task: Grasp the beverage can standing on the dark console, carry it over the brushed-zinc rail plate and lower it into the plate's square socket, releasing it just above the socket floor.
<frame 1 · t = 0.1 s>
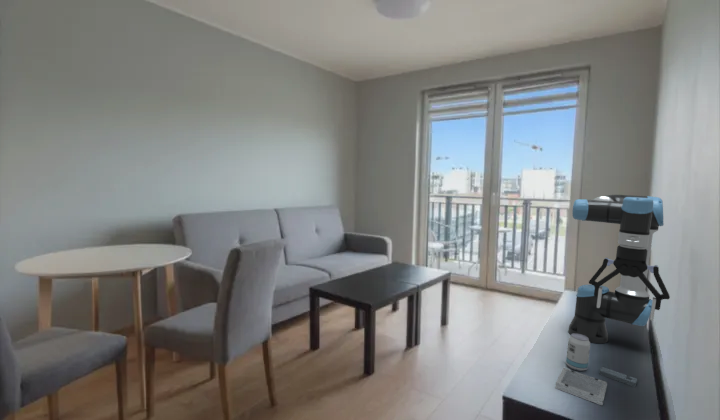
hand: (624, 312, 112), 28 cm above the table, fingers open, 13 cm apart
beverage can: (576, 368, 131), on the table
bracket: (617, 380, 125), on the table
rail plate: (581, 388, 118), on the table
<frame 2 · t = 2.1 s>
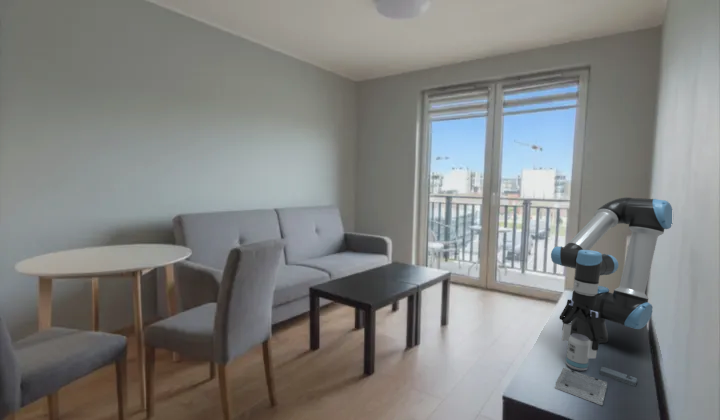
hand: (577, 348, 131), 7 cm above the table, fingers open, 13 cm apart
nothing on the table moved.
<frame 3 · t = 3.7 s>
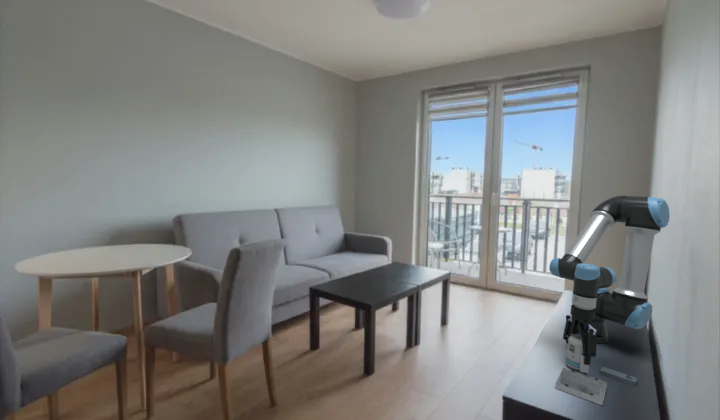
hand: (576, 366, 131), 1 cm above the table, fingers closed on beverage can, 7 cm apart
beverage can: (576, 368, 131), on the table, touching gripper
everything else where it was.
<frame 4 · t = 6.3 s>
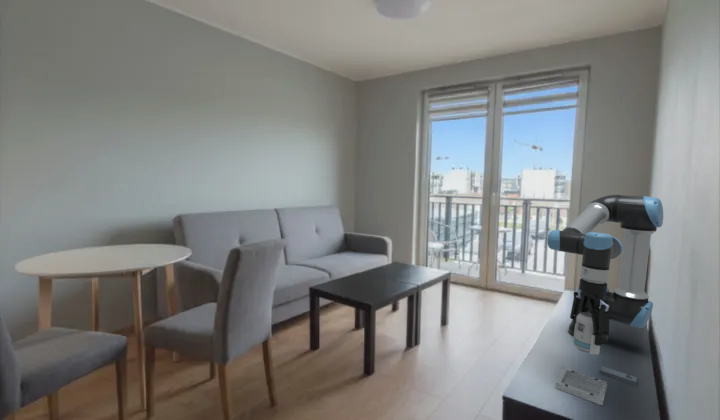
hand: (585, 347, 117), 14 cm above the table, fingers closed on beverage can, 7 cm apart
beverage can: (585, 350, 117), point 13 cm above the table, touching gripper
everything else where it was.
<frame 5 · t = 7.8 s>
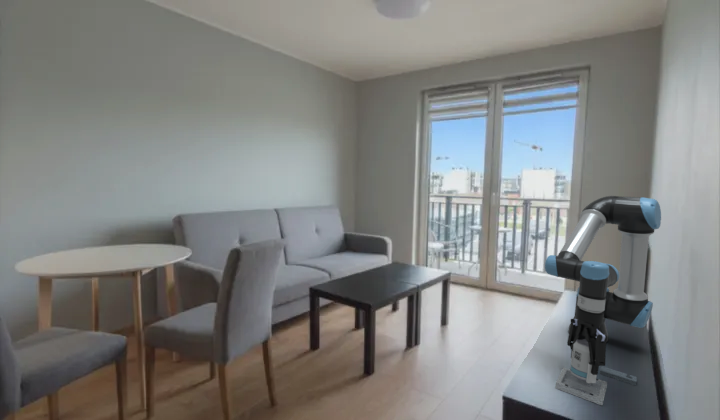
hand: (582, 375, 118), 4 cm above the table, fingers closed on beverage can, 7 cm apart
beverage can: (582, 377, 118), point 4 cm above the table, touching gripper
everything else where it was.
when the fingers open (3 cm above the table, at t = 8.9 s): beverage can drops 2 cm, resting on rail plate.
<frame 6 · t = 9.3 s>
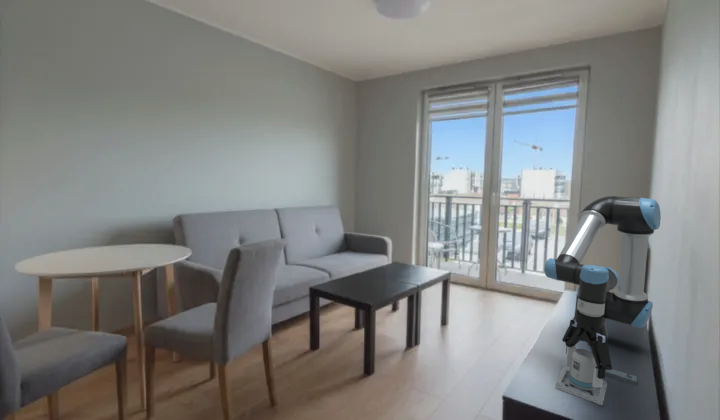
hand: (582, 375, 118), 4 cm above the table, fingers open, 12 cm apart
beverage can: (580, 387, 118), resting on rail plate
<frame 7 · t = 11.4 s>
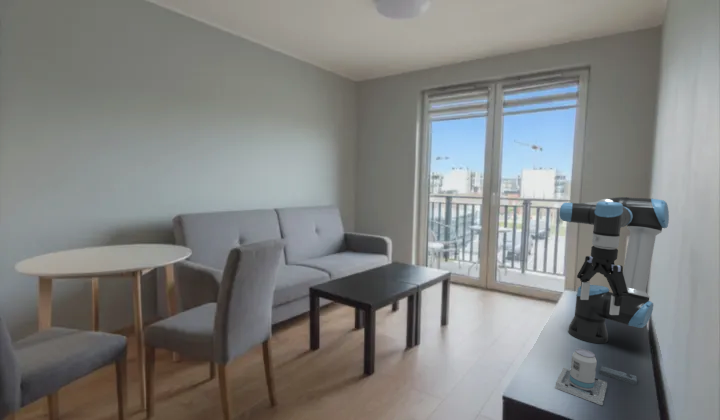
hand: (598, 306, 123), 26 cm above the table, fingers open, 13 cm apart
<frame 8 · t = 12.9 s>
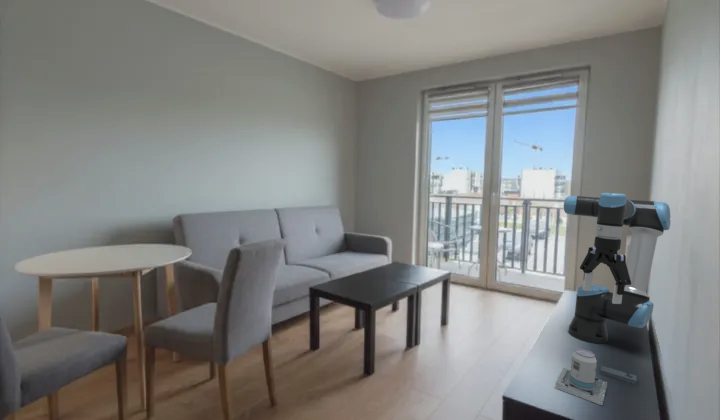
hand: (601, 296, 125), 29 cm above the table, fingers open, 13 cm apart
at the end: beverage can 0.1 cm off-centre on the rail plate, point 0.1 cm above the rail plate's base; beverage can tilted 0°; the gripper is holding nothing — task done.
